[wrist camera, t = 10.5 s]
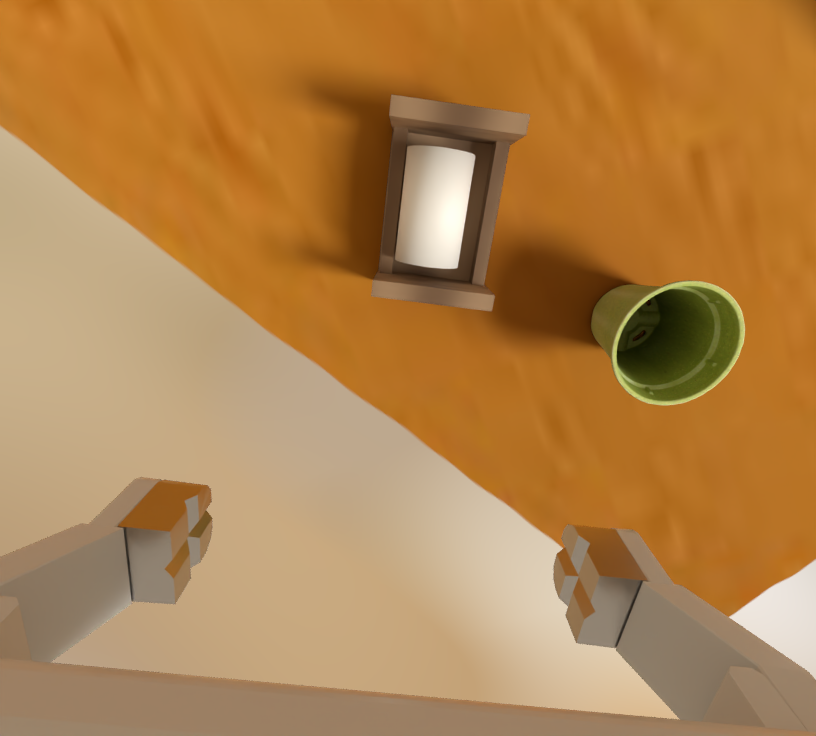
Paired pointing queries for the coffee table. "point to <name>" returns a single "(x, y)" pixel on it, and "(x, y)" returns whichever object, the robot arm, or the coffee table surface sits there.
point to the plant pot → (669, 338)
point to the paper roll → (434, 206)
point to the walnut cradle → (490, 145)
